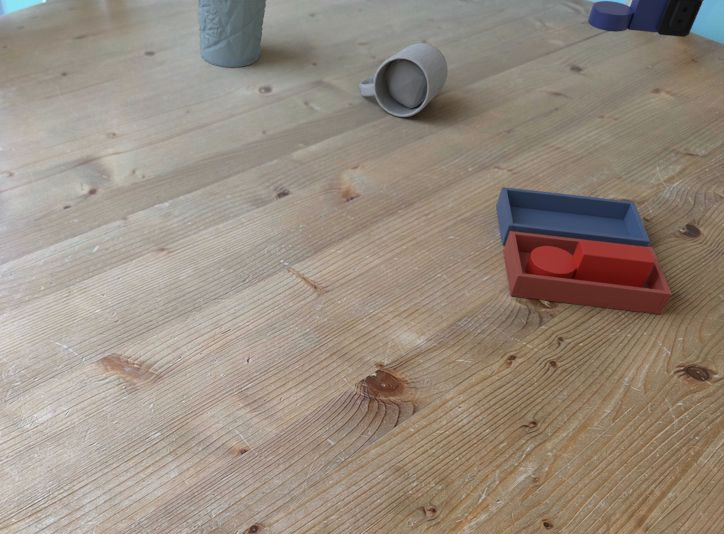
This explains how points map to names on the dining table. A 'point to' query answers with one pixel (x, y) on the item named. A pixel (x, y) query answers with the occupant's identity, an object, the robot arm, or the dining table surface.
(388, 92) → the ceramic mug
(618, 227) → the blue bin
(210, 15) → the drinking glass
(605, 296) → the red bin
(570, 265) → the red cylinder-cube piece
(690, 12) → the robot arm
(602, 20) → the blue cylinder-cube block
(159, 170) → the dining table surface
